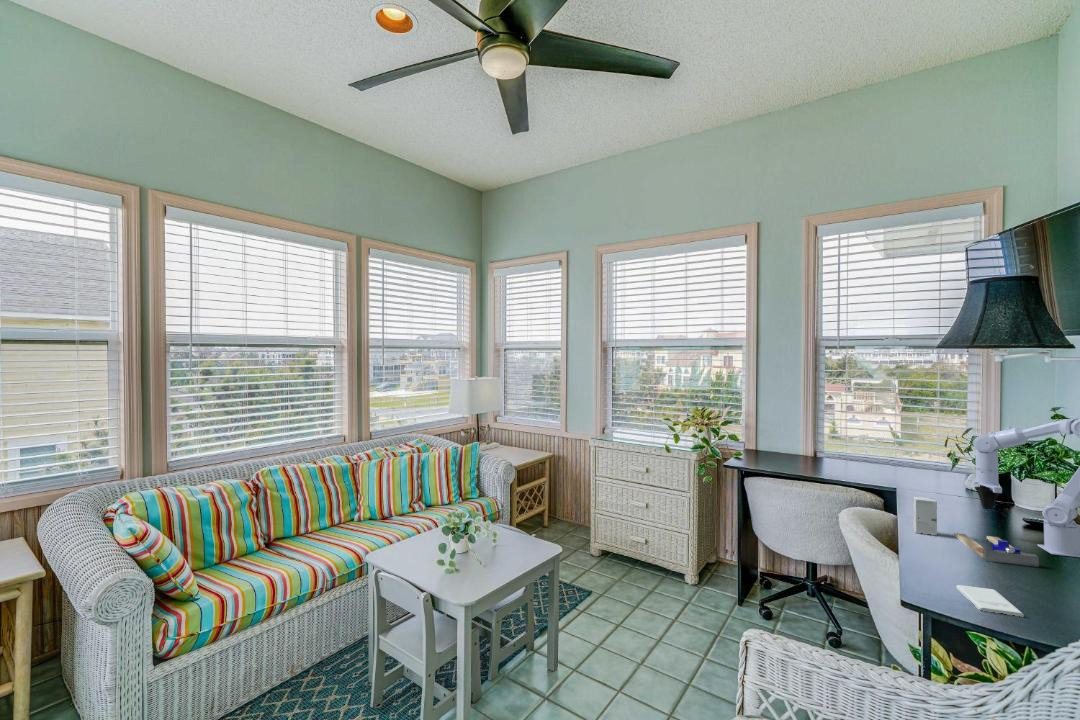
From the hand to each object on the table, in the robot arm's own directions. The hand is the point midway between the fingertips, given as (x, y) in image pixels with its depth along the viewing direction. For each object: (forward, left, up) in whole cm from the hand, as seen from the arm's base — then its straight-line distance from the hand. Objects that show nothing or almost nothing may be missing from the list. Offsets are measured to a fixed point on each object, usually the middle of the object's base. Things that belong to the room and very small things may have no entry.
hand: (987, 508), depth 164 cm
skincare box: (+19, +4, -10) cm, 22 cm away
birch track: (+5, +15, -9) cm, 18 cm away
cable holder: (+4, +21, -10) cm, 23 cm away
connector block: (+5, +26, -9) cm, 28 cm away
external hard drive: (+23, +58, -10) cm, 63 cm away
